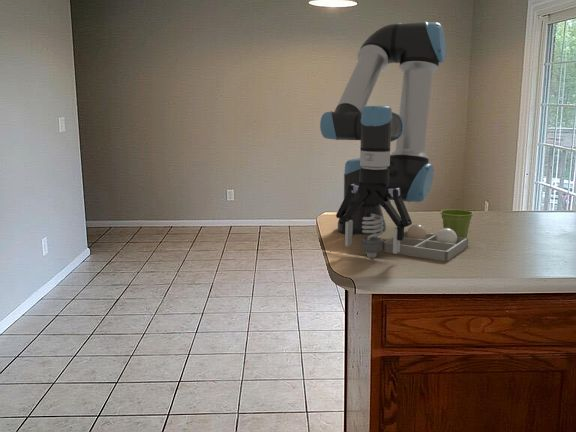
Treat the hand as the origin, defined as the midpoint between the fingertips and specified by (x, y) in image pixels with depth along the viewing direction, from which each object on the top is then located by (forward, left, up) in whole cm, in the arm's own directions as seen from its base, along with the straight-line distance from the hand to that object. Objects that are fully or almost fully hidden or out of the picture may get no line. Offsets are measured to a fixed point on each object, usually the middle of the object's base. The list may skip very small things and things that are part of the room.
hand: (371, 248), depth 156 cm
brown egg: (+5, +20, -2) cm, 20 cm away
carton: (+9, +16, -3) cm, 18 cm away
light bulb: (0, 0, -3) cm, 3 cm away
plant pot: (+12, +32, -3) cm, 34 cm away
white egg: (+13, +20, -2) cm, 24 cm away
